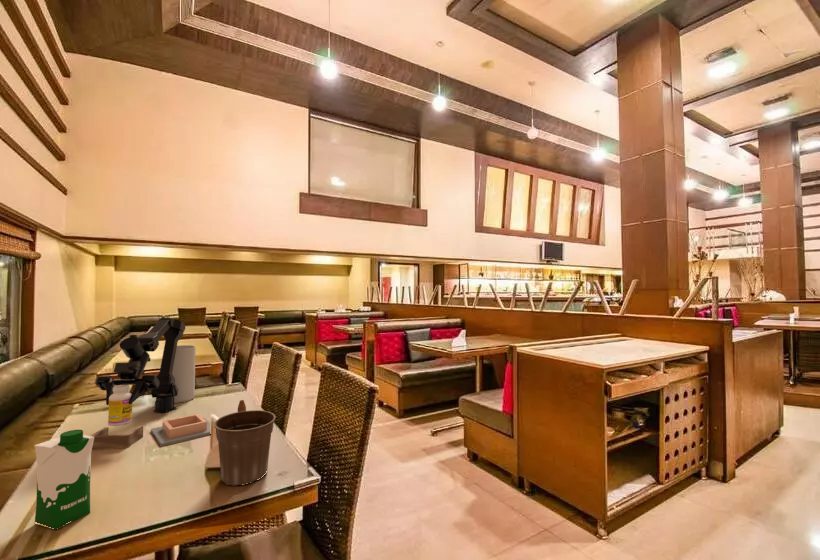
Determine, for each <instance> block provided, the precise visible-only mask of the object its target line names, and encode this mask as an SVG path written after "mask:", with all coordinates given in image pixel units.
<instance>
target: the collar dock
mask: <svg viewBox="0 0 820 560" xmlns="http://www.w3.org/2000/svg"><path fill="white" fill-rule="evenodd" d="M210 423H211V422H210V421H208V420H207V418H205V417H202V416H201V414H200V413H195V414H190V415H186V416H181V417H176V418H170V419H165V420H162V426H159V427H153V428H151V429H150V433H152V435H153V437H154V438H155V439H156V440H155V441H157V443H158V445H160V447H164V446H168V445H172V444H177V443H181V442H185V441H189V440H190V441H191V440H194V439H197V438H198V439H199V438H202V437H206V436H210Z"/></svg>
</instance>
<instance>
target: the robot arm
mask: <svg viewBox="0 0 820 560" xmlns="http://www.w3.org/2000/svg"><path fill="white" fill-rule="evenodd" d="M185 330H186V324H185V323H184V322H183V321H181V320H178V319H175V318H173V317H161V318H159V319H158V322H156V323H155V325H154V326H152V328H151V329H150V330H148V332H146V333H144V334H141V335H139V336H138V335H137V334H130V336H129V337H126V338H124V339H123V340H122V341H120V343H119V348H120V349H121V350H122V352H123V354H124V355H125V357H126V358H128V359H129V360H128V362H115V365H114V369H113V373H114V374H115V373H117V378H115V379H114V377H113V376H112V375H100V376H98V377H96V379H95V381H94V384H95V385H96V386H97V387H98V388H99V390H101V391H106V392H105V394H106V397H105V404H106V406H109V397H110V396H111V395H112V394H113V387H115V386H119V385H129V386H131V385H132V386H133V385H134V386H135V387H134V389H133V392H131V393H132V395H131V398H130V400H129V404H132V405H133V403H134V402H136V400H137V399H139V398H140V397H141V396H142V395H144V394H145V393H147V392H149V391H150V392H151V393H150V394H151V397H152V399H153V398H155V401H154V409H152V412H154V413H163V414H164V413H167V412H171V411H174V410H177V409H178V407H176V406H175V403H174V396H177V395H178V390H179V389H178V387H177V386H176V384H175V378H174V376H173V374H172V371H173V366H174V360H175V354H176V348H177V346H178V343H179V342H178V341H180V339H182V337H183V336H184V333H185ZM163 337H164V340H165V341H164V347H163V352H162V356H161V357H162V358H161V362H160V368H159V372H158V374H157V375H156V374H145V372H146V371H145V368H146V365H147V363H148V362H151V355H150V354H149V353H150V352H155V351H156V350H157V349H158V347H159V346H160V342H159V341H160V340H161V338H163ZM148 352H149V353H148ZM118 378H119V379H118Z"/></svg>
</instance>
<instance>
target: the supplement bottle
mask: <svg viewBox="0 0 820 560" xmlns="http://www.w3.org/2000/svg"><path fill="white" fill-rule="evenodd" d="M129 390H130V385H116V386H115V387H113V394H112V395H111V396H110V397H109V405H108V413H107V414H108V416H107V417H108V418H107V421H108V422H107V424H108V426H110V427H119V426H125V425H128V424H130V423H131V422H132V420H133V403H132V404H129V400H130V398H131V395H132V393H133V392H130V391H129Z"/></svg>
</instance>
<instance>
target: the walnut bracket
mask: <svg viewBox="0 0 820 560" xmlns="http://www.w3.org/2000/svg"><path fill="white" fill-rule="evenodd" d="M90 436H92V437H94V441H93V446H92V450H91V451H93V450H94V451H95V450H107V449H108V450H110V449H112V450H113V449H125V448H126V449H127V448H130V447H131V446H133V445H134V444H135V443H136V442H138V441H139V440H141V439H142V438H143V437H144V425H138V426H137V427H135V428H134V429H132V430H131V431H129V432H128V433H126V434H110V435H109V427H108V426H107V427H106V426H105V427H103V428H101V429H99V430H98V431H96V432H95V433H93V434H91V435H90Z"/></svg>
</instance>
